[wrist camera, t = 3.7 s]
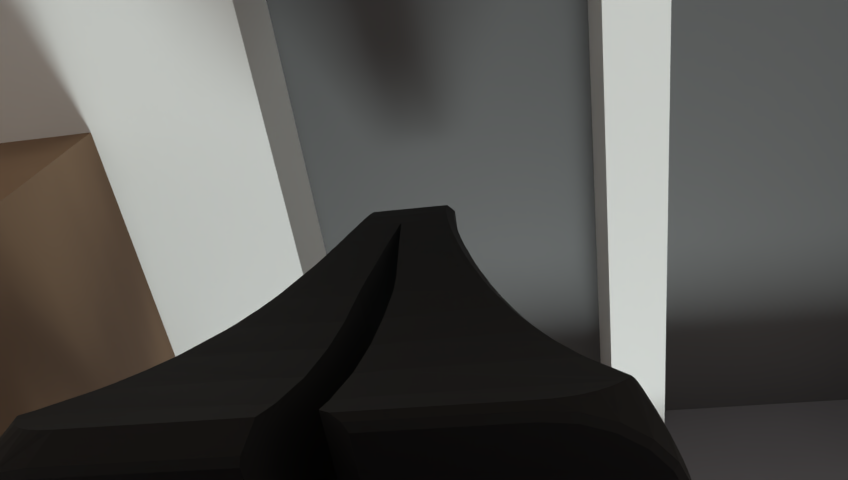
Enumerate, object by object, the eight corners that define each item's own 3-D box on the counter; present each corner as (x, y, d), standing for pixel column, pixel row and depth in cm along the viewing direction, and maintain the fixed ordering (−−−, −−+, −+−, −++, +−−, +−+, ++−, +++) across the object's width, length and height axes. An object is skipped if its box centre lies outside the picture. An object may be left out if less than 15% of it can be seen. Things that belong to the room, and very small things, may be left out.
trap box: (944, 401, 16) (1051, 531, 13) (-358, 478, 21) (-504, 590, 18) (1123, -315, 10) (1396, -380, 7) (-779, 7, 15) (-1113, 52, 11)
